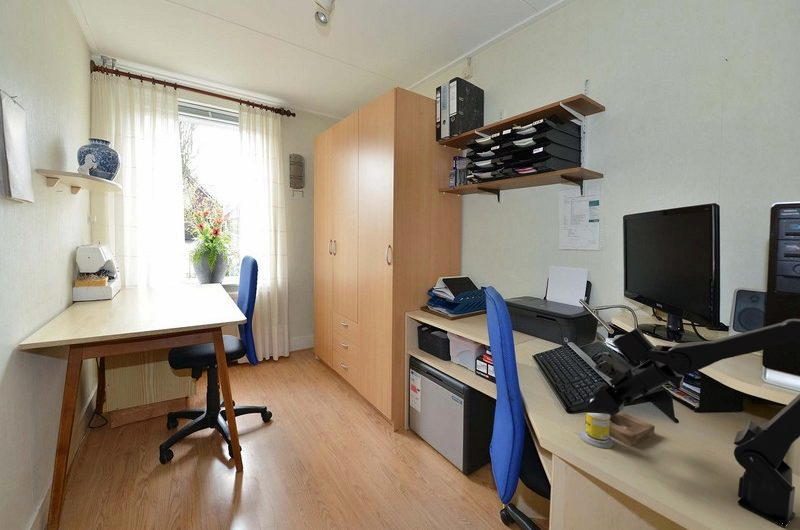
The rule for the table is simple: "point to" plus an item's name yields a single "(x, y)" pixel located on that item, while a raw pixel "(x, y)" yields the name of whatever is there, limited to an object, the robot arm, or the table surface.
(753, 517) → the table surface
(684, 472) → the table surface
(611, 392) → the robot arm
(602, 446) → the grey oval disc
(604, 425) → the supplement bottle
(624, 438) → the holder block
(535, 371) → the table surface
